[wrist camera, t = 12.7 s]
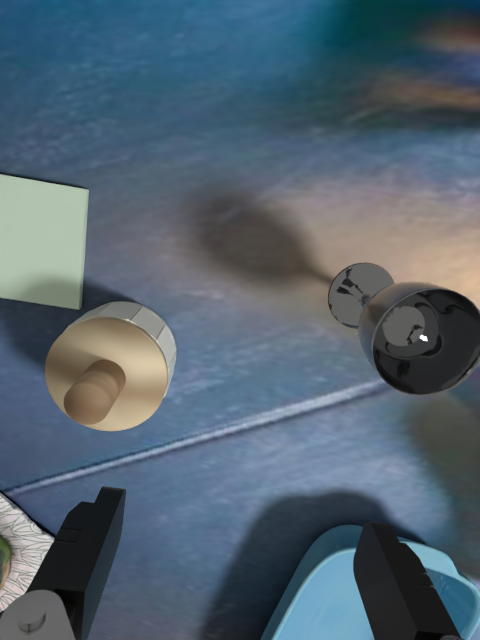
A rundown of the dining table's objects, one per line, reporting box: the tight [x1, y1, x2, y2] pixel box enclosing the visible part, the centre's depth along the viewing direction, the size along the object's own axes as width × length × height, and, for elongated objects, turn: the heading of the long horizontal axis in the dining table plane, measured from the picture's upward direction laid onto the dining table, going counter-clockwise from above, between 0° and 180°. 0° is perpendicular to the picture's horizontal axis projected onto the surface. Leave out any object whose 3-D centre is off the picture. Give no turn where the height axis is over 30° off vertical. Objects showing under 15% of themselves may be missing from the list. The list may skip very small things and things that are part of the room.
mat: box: [0, 174, 89, 310], centre depth 39 cm, size 12×12×1 cm
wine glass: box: [329, 263, 480, 396], centre depth 35 cm, size 8×8×15 cm
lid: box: [45, 317, 168, 431], centre depth 34 cm, size 11×11×6 cm
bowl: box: [63, 301, 177, 398], centre depth 40 cm, size 11×11×6 cm
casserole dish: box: [260, 525, 480, 640], centre depth 51 cm, size 37×22×7 cm, turn 159°
